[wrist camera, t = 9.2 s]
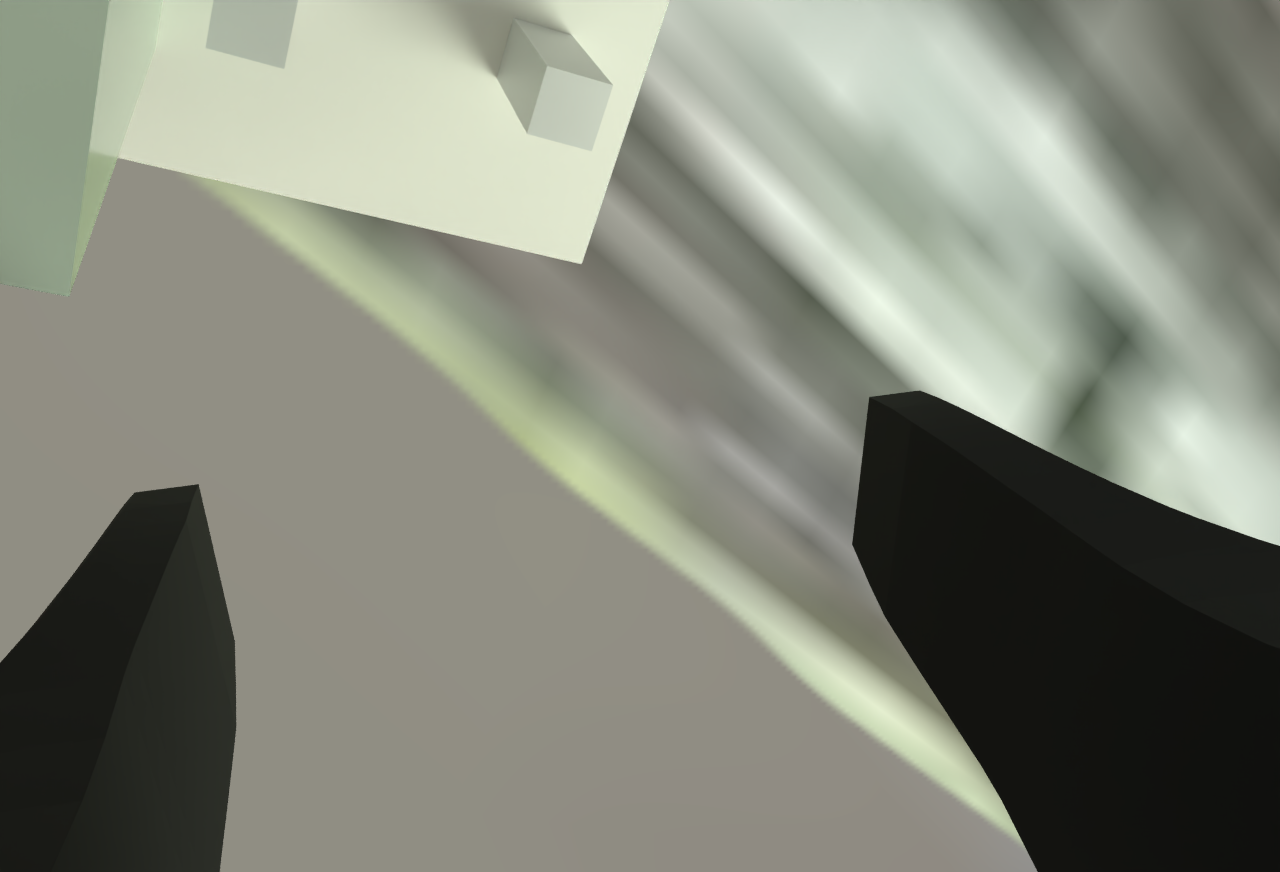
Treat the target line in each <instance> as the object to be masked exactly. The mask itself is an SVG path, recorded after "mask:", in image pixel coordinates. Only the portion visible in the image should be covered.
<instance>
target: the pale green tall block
mask: <svg viewBox="0 0 1280 872" xmlns="http://www.w3.org/2000/svg"><path fill="white" fill-rule="evenodd" d="M162 3H163V0H0V284H4V285H9V286H15V287H20V288H25V289H31V290H36V291H41V292H47V293H52V294H57V295H63V296H68V297H69V296H70V293H71V290H72V287H73V284H74V281H75V279H76V276H77V273H78V270H79V267H80V264H81V262H82V259H83V255H84V253H85V250H86V247H87V244H88V241H89V239H90V236H91V232H92V230H93V227H94V224H95V221H96V218H97V216H98V212H99V210H100V207H101V204H102V201H103V198H104V195H105V193H106V189H107V187H108V184H109V181H110V178H111V175H112V172H113V170H114V167H115V164H116V161H117V158H118V155H119V152H120V149H121V147H122V144H123V141H124V138H125V135H126V132H127V129H128V126H129V124H130V121H131V118H132V115H133V112H134V109H135V106H136V103H137V101H138V98H139V95H140V92H141V89H142V86H143V83H144V80H145V78H146V75H147V72H148V69H149V66H150V63H151V60H152V57H153V55H154V52H155V48H156V42H157V35H158V29H159V22H160V16H161V9H162Z"/></svg>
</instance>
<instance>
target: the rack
mask: <svg viewBox="0 0 1280 872" xmlns="http://www.w3.org/2000/svg"><path fill="white" fill-rule="evenodd" d="M668 3H669V0H163V3H162V9H161V16H160V22H159V29H158V35H157V42H156V48H155V52H154V55H153V57H152V60H151V63H150V66H149V69H148V72H147V75H146V78H145V80H144V83H143V86H142V89H141V92H140V95H139V98H138V101H137V103H136V106H135V109H134V112H133V115H132V118H131V121H130V124H129V126H128V129H127V132H126V135H125V138H124V141H123V144H122V147H121V149H120V152H119V155H118V158H122V159H126V160H130V161H135V162H139V163H143V164H148V165H152V166H156V167H161V168H165V169H169V170H174V171H178V172H183V173H187V174H191V175H196V176H200V177H204V178H209V179H213V180H217V181H222V182H226V183H230V184H235V185H239V186H244V187H248V188H252V189H257V190H261V191H265V192H270V193H274V194H278V195H283V196H287V197H291V198H296V199H300V200H305V201H309V202H313V203H318V204H322V205H326V206H331V207H335V208H339V209H344V210H348V211H353V212H357V213H361V214H366V215H370V216H374V217H379V218H383V219H387V220H392V221H396V222H400V223H405V224H409V225H414V226H418V227H422V228H427V229H431V230H435V231H440V232H444V233H448V234H453V235H457V236H461V237H466V238H470V239H475V240H479V241H483V242H488V243H492V244H496V245H501V246H505V247H509V248H514V249H518V250H522V251H527V252H531V253H536V254H540V255H544V256H549V257H553V258H557V259H562V260H566V261H570V262H575V263H579V264H582V261H583V258H584V255H585V252H586V249H587V246H588V243H589V240H590V237H591V234H592V231H593V228H594V225H595V222H596V219H597V216H598V213H599V210H600V207H601V204H602V201H603V198H604V195H605V192H606V189H607V186H608V183H609V180H610V177H611V174H612V171H613V168H614V165H615V162H616V159H617V156H618V153H619V150H620V147H621V144H622V141H623V138H624V135H625V132H626V129H627V126H628V123H629V120H630V117H631V114H632V111H633V108H634V105H635V102H636V99H637V96H638V93H639V90H640V87H641V84H642V81H643V78H644V75H645V72H646V69H647V66H648V63H649V60H650V57H651V54H652V51H653V48H654V45H655V42H656V39H657V36H658V33H659V30H660V27H661V24H662V21H663V18H664V15H665V12H666V9H667V6H668Z"/></svg>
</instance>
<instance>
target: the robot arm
mask: <svg viewBox="0 0 1280 872" xmlns="http://www.w3.org/2000/svg"><path fill="white" fill-rule="evenodd" d="M852 545H853V547H854V549H855V552H856V554H857V556H858V559H859V561H860V563H861V566H862V568H863V570H864V573H865V575H866V577H867V579H868V582H869V584H870V586H871V588H872V590H873V593H874V595H875V597H876V599H877V601H878V603H879V605H880V607H881V609H882V611H883V614H884V616H885V617H886V619H887V621H888V622H889V624H890V625H891V627H892V629H893V630H894V632H895V634H896V635H897V637H898V638H899V640H900V641H901V643H902V645H903V646H904V648H905V649H906V651H907V652H908V654H909V655H910V657H911V659H912V660H913V662H914V663H915V665H916V666H917V668H918V670H919V671H920V673H921V674H922V676H923V677H924V679H925V680H926V682H927V683H928V685H929V686H930V688H931V689H932V691H933V693H934V694H935V696H936V697H937V699H938V700H939V702H940V703H941V705H942V706H943V708H944V709H945V711H946V712H947V714H948V716H949V717H950V719H951V720H952V722H953V723H954V725H955V726H956V728H957V729H958V731H959V732H960V734H961V735H962V737H963V738H964V740H965V742H966V743H967V745H968V746H969V748H970V749H971V751H972V752H973V754H974V755H975V757H976V758H977V760H978V761H979V763H980V765H981V766H982V768H983V769H984V771H985V773H986V775H987V776H988V778H989V780H990V781H991V783H992V785H993V786H994V788H995V790H996V792H997V793H998V795H999V797H1000V798H1001V800H1002V802H1003V804H1004V806H1005V808H1006V810H1007V812H1008V814H1009V816H1010V818H1011V820H1012V822H1013V824H1014V826H1015V828H1016V830H1017V832H1018V834H1019V836H1020V838H1021V840H1022V842H1023V844H1024V846H1025V848H1026V850H1027V852H1028V854H1029V856H1030V858H1031V860H1032V861H1033V863H1034V865H1035V867H1036V869H1037V871H1038V872H1280V546H1278V545H1275V544H1271V543H1268V542H1265V541H1262V540H1259V539H1256V538H1253V537H1250V536H1247V535H1244V534H1241V533H1239V532H1236V531H1233V530H1230V529H1227V528H1224V527H1222V526H1219V525H1216V524H1213V523H1210V522H1207V521H1205V520H1202V519H1199V518H1196V517H1193V516H1191V515H1188V514H1186V513H1183V512H1181V511H1178V510H1176V509H1173V508H1170V507H1168V506H1166V505H1163V504H1161V503H1158V502H1156V501H1154V500H1152V499H1149V498H1147V497H1145V496H1142V495H1140V494H1138V493H1135V492H1133V491H1131V490H1128V489H1126V488H1124V487H1122V486H1119V485H1117V484H1115V483H1112V482H1110V481H1108V480H1106V479H1104V478H1102V477H1099V476H1097V475H1095V474H1093V473H1091V472H1089V471H1087V470H1084V469H1082V468H1080V467H1078V466H1076V465H1074V464H1072V463H1070V462H1068V461H1066V460H1064V459H1062V458H1060V457H1058V456H1056V455H1053V454H1051V453H1049V452H1047V451H1045V450H1043V449H1041V448H1039V447H1037V446H1035V445H1033V444H1031V443H1029V442H1027V441H1025V440H1023V439H1021V438H1019V437H1017V436H1015V435H1014V434H1012V433H1010V432H1008V431H1006V430H1004V429H1002V428H1000V427H998V426H996V425H994V424H992V423H990V422H988V421H986V420H984V419H982V418H980V417H978V416H976V415H974V414H972V413H970V412H968V411H966V410H963V409H961V408H959V407H957V406H955V405H953V404H951V403H949V402H947V401H944V400H942V399H940V398H937V397H935V396H932V395H930V394H927V393H925V392H922V391H913V392H905V393H897V394H890V395H882V396H874V397H869V404H868V413H867V422H866V430H865V439H864V448H863V456H862V465H861V473H860V482H859V491H858V499H857V508H856V517H855V525H854V534H853V542H852ZM235 676H236V675H235V640H234V636H233V632H232V627H231V623H230V619H229V614H228V610H227V606H226V601H225V597H224V593H223V588H222V584H221V580H220V576H219V571H218V567H217V562H216V558H215V554H214V550H213V545H212V541H211V536H210V532H209V528H208V523H207V519H206V515H205V510H204V506H203V502H202V497H201V493H200V489H199V485H198V484H197V485H190V486H183V487H174V488H167V489H159V490H151V491H144V492H136V493H134V494H133V495H132V496H131V497H130V499H129V500H128V501H127V502H126V503H125V504H124V506H123V507H122V508H121V510H120V511H119V513H118V514H117V515H116V517H115V518H114V519H113V521H112V522H111V524H110V525H109V526H108V528H107V529H106V530H105V532H104V533H103V535H102V536H101V537H100V539H99V540H98V542H97V543H96V544H95V546H94V547H93V548H92V550H91V551H90V552H89V554H88V555H87V556H86V558H85V559H84V560H83V562H82V563H81V564H80V566H79V567H78V569H77V570H76V571H75V573H74V574H73V575H72V577H71V578H70V579H69V580H68V582H67V583H66V584H65V585H64V587H63V588H62V589H61V591H60V592H59V593H58V594H57V596H56V597H55V598H54V599H53V601H52V602H51V603H50V605H49V606H48V607H47V608H46V609H45V611H44V612H43V613H42V615H41V616H40V617H39V619H38V620H37V621H36V622H35V623H34V625H33V626H32V627H31V628H30V629H29V631H28V632H27V633H26V634H25V636H24V637H23V638H22V639H21V640H20V641H19V642H18V643H17V644H16V646H15V647H14V648H13V649H12V650H11V651H10V652H9V653H8V655H7V656H6V657H5V658H4V659H3V660H2V661H1V663H0V872H220V863H221V855H222V846H223V838H224V830H225V821H226V812H227V803H228V796H229V787H230V778H231V770H232V761H233V752H234V743H235V733H236V677H235Z"/></svg>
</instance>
